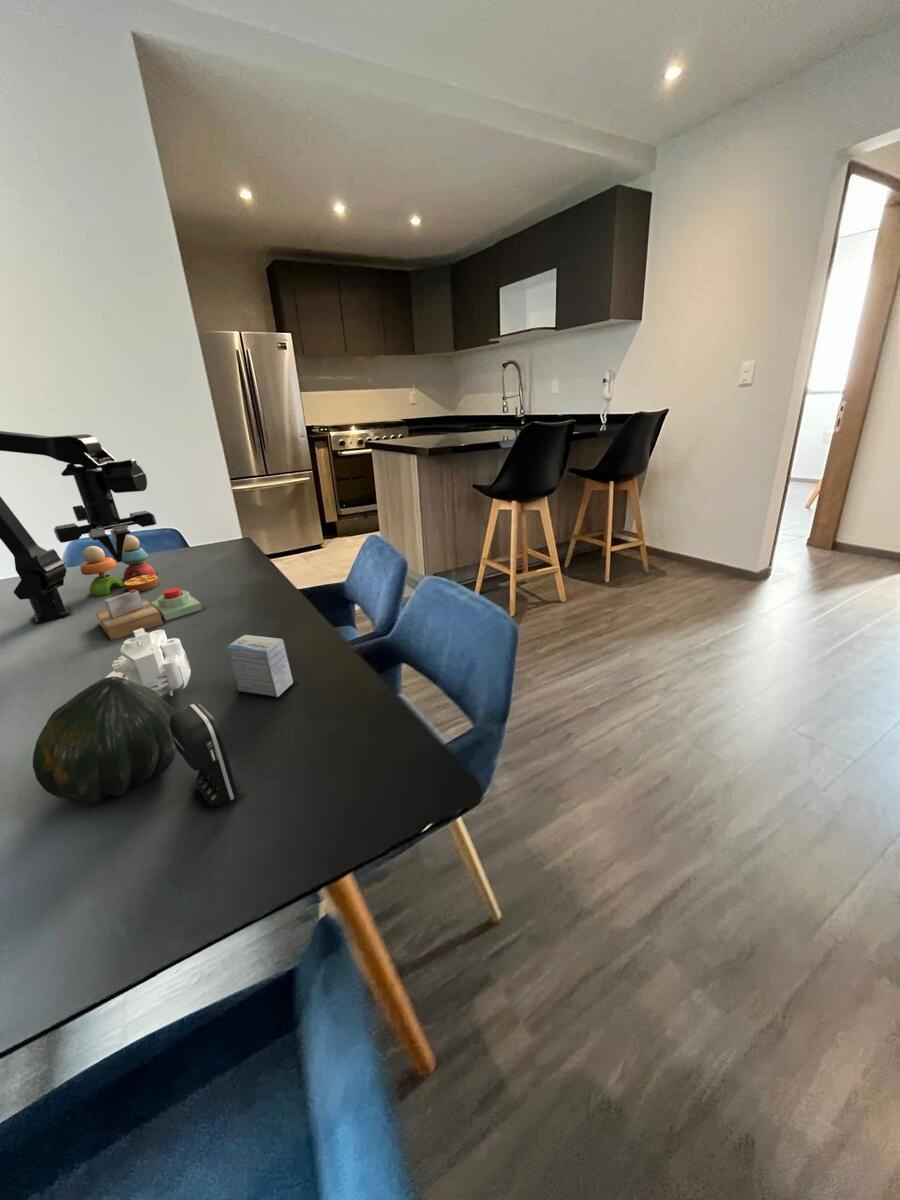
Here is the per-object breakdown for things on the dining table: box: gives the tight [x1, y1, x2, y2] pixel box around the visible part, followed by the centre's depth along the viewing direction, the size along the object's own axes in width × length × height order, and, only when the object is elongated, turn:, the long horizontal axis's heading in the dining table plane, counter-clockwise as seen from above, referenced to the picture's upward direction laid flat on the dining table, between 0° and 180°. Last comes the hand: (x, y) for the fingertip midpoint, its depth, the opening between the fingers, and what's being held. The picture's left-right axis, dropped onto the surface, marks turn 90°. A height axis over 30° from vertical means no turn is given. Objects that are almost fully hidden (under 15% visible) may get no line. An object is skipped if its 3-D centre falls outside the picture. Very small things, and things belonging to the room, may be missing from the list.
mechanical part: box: [105, 628, 191, 698], centre depth 78 cm, size 11×12×12 cm
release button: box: [162, 587, 182, 599], centre depth 116 cm, size 4×4×2 cm
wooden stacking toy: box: [80, 534, 158, 597], centre depth 135 cm, size 18×17×12 cm
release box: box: [150, 589, 203, 621], centre depth 117 cm, size 11×8×4 cm
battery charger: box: [170, 702, 239, 808], centre depth 58 cm, size 7×4×11 cm, turn 45°
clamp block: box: [95, 598, 164, 641], centre depth 110 cm, size 12×11×3 cm
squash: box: [32, 677, 177, 806], centre depth 62 cm, size 14×15×15 cm
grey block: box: [103, 589, 143, 618], centre depth 108 cm, size 6×2×4 cm, turn 148°
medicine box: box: [226, 634, 294, 698], centre depth 80 cm, size 8×4×9 cm, turn 71°
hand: (119, 561), depth 114 cm, fingers closed
